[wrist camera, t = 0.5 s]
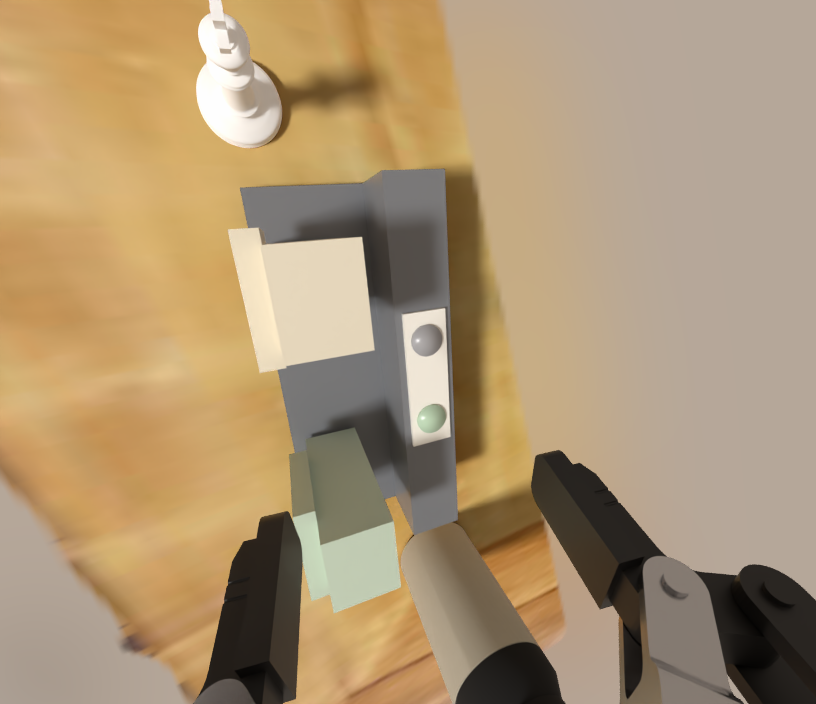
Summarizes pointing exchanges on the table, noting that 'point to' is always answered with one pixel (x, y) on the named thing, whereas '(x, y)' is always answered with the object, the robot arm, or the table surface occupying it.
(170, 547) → the table surface
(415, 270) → the console
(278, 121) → the chess piece
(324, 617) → the table surface
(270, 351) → the sand key
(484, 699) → the travel mug
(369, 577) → the sage key
